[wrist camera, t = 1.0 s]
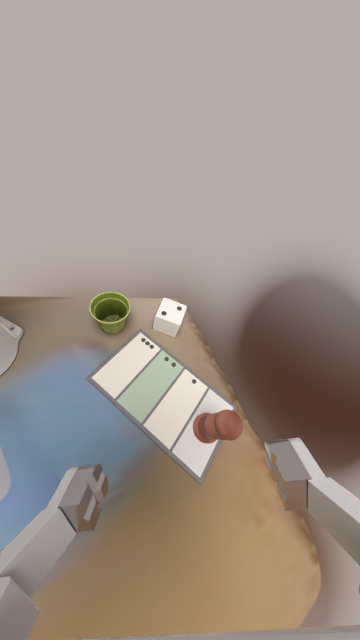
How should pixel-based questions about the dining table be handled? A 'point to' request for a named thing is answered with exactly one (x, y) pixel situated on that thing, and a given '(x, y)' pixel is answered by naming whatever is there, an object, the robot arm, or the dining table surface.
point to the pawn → (217, 426)
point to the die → (169, 317)
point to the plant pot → (110, 311)
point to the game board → (161, 399)
